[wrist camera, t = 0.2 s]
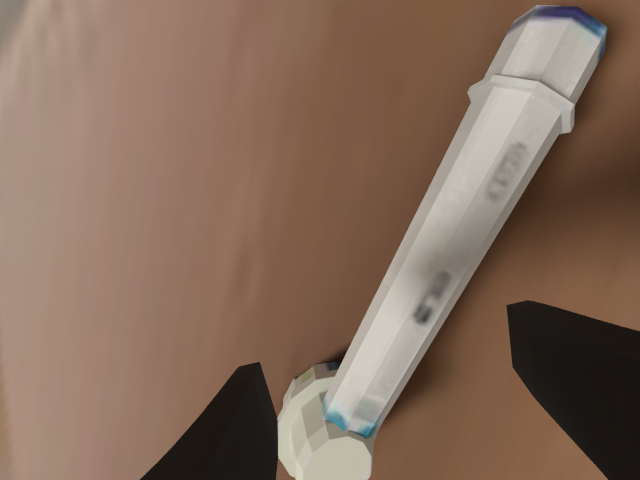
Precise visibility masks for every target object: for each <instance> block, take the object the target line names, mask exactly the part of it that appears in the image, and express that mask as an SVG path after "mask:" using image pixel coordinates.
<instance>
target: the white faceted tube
mask: <svg viewBox="0 0 640 480" xmlns="http://www.w3.org/2000/svg"><path fill="white" fill-rule="evenodd" d="M607 28H608V27H606V26H605V25H603V24H602V23H600V22H599V21H598V20H596V19H595V18H593V17H592V16H590V15H589V14H588V13H586V12H585V11H583V10H582V9H580V8H579V7H572V6H546V5H536V6H535V7H533V8H532V9H531V10H529V11H528V12H526V13H525V14H523V15H522V16H521V17H519V18H518V19H516V20H515V21H513V23H512V25H511V27H510V29H509V31H508V33H507V35H506V37H505V39H504V41H503V42H502V44H501V46H500V48H499V50H498V52H497V54H496V56H495V58H494V60H493V62H492V63H491V65H490V67H489V69H488V71H487V73H486V75H485V77H484V79H483V80H481V81H480V82H478V83H476V84H474V85H472V86H471V87H470V88H469V90H468V92H467V93H468V96H469V98H470V100H471V104H470V106H469V108H468V110H467V112H466V114H465V116H464V118H463V120H462V122H461V124H460V126H459V128H458V130H457V132H456V134H455V136H454V138H453V140H452V142H451V144H450V146H449V148H448V150H447V152H446V154H445V156H444V158H443V160H442V162H441V164H440V166H439V168H438V170H437V172H436V174H435V176H434V178H433V180H432V182H431V184H430V186H429V188H428V190H427V192H426V194H425V196H424V198H423V200H422V202H421V204H420V206H419V208H418V210H417V212H416V214H415V216H414V218H413V220H412V222H411V224H410V226H409V228H408V230H407V232H406V234H405V237H404V239H403V241H402V243H401V245H400V247H399V249H398V251H397V253H396V255H395V257H394V259H393V261H392V263H391V265H390V267H389V269H388V271H387V273H386V275H385V277H384V279H383V281H382V283H381V285H380V287H379V289H378V291H377V293H376V295H375V297H374V299H373V301H372V303H371V305H370V307H369V309H368V311H367V313H366V315H365V317H364V319H363V321H362V323H361V325H360V327H359V329H358V331H357V333H356V335H355V337H354V339H353V341H352V343H351V345H350V347H349V349H348V351H347V353H346V355H345V357H344V359H343V361H342V363H341V364H339V363H337V362H328V363H321V364H314V365H313V366H312V367H311V368H310V369H309V370H307V371H306V372H305V373H303V374H302V375H301V376H300V377H298V378H297V379H296V378H294V379H293V381H292V383H291V385H290V386H289V388H288V390H287V392H286V394H285V396H284V398H283V408H282V410H281V412H280V414H279V416H278V418H277V419H278V457H279V459H280V460H281V462H282V463H283V465H284V467H285V468H286V470H287V471H288V473H289V474H290V476H293V477H295V478H296V480H368V479H369V477H370V475H371V471H372V466H373V450H374V443H373V442H374V440H375V438H376V436H377V434H378V429H379V428H380V426H381V424H382V423H383V421H384V419H385V418H386V416H387V415H388V413H389V411H390V410H391V408H392V406H393V405H394V403H395V401H396V400H397V398H398V397H399V395H400V393H401V392H402V390H403V388H404V387H405V385H406V383H407V382H408V380H409V379H410V377H411V375H412V374H413V372H414V370H415V369H416V367H417V365H418V364H419V362H420V361H421V359H422V357H423V356H424V354H425V352H426V351H427V349H428V347H429V346H430V344H431V343H432V341H433V339H434V338H435V336H436V334H437V333H438V331H439V329H440V328H441V326H442V325H443V323H444V321H445V320H446V318H447V316H448V315H449V313H450V311H451V310H452V308H453V307H454V305H455V303H456V302H457V300H458V298H459V297H460V295H461V293H462V292H463V290H464V289H465V287H466V285H467V284H468V282H469V280H470V279H471V277H472V275H473V274H474V272H475V271H476V269H477V267H478V266H479V264H480V262H481V261H482V259H483V257H484V256H485V254H486V253H487V251H488V249H489V248H490V246H491V244H492V243H493V241H494V239H495V238H496V236H497V235H498V233H499V231H500V230H501V228H502V226H503V225H504V223H505V222H506V220H507V218H508V217H509V215H510V213H511V212H512V210H513V208H514V207H515V205H516V204H517V202H518V200H519V199H520V197H521V195H522V194H523V192H524V190H525V189H526V187H527V186H528V184H529V182H530V181H531V179H532V177H533V176H534V174H535V172H536V171H537V169H538V168H539V166H540V164H541V163H542V161H543V159H544V158H545V156H546V154H547V153H548V151H549V150H550V148H551V146H552V145H553V143H554V141H555V140H556V138H557V136H558V135H559V134H564V133H569V132H571V130H572V128H573V127H574V112H575V104H576V103H577V101H578V99H579V97H580V95H581V93H582V92H583V90H584V88H585V86H586V84H587V82H588V81H589V79H590V77H591V75H592V73H593V72H594V70H595V68H596V66H597V64H598V62H599V61H600V59H601V57H602V55H603V53H604V51H605V44H606V36H607Z"/></svg>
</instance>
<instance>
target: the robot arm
mask: <svg viewBox="0 0 640 480" xmlns="http://www.w3.org/2000/svg"><path fill="white" fill-rule="evenodd" d="M507 314H508V324H509V334H510V344H511V354H512V365H513V368H514V369H515V371H516V372H517V374H518V375H519V377H520V378H521V380H522V381H523V383H524V384H525V385H526V387H527V388H528V390H529V391H530V392H531V394H532V395H533V396H534V398H535V399H536V400H537V401H538V402H539V403H540V405H541V406H542V407H543V408H544V409H545V410H546V411H547V412H548V414H549V415H550V416H551V417H552V418H553V419H554V420H555V421H556V422H557V424H558V425H559V426H560V427H561V428H562V429H563V430H564V431H565V432H566V433H567V434H568V436H569V437H570V438H571V439H572V440H573V441H574V442H575V443H576V444H577V445H578V446H579V448H580V449H581V450H582V451H583V452H584V453H585V454H586V455H587V456H588V457H589V458H590V460H591V461H592V462H593V463H594V464H595V465H596V466H597V467H598V468H599V469H600V471H601V472H602V473H603V474H604V475H605V476H606V478H607V479H608V480H640V331H636V330H632V329H629V328H625V327H621V326H618V325H614V324H611V323H607V322H604V321H600V320H597V319H593V318H590V317H587V316H583V315H580V314H577V313H573V312H570V311H567V310H563V309H560V308H557V307H553V306H549V305H546V304H542V303H538V302H534V301H529V300H527V301H523V302H518V303H514V304H510V305H507ZM277 462H278V419H277V416H276V413H275V410H274V407H273V403H272V400H271V397H270V394H269V390H268V387H267V384H266V381H265V378H264V374H263V371H262V368H261V365H260V362H257V363H253V364H248V365H244V366H240V367H238V368H237V369H236V371H235V372H234V373H233V374H232V376H231V377H230V378H229V379H228V381H227V382H226V383H225V385H224V386H223V387H222V388H221V390H220V391H219V392H218V394H217V395H216V396H215V397H214V399H213V400H212V401H211V402H210V404H209V405H208V406H207V407H206V409H205V410H204V411H203V412H202V414H201V415H200V416H199V417H198V418H197V420H196V421H195V422H194V423H193V424H192V425H191V426H190V428H189V429H188V430H187V431H186V432H185V433H184V434H183V436H182V437H181V438H180V439H179V440H178V441H177V442H176V444H175V445H174V446H173V447H172V448H171V449H170V450H169V451H168V452H167V453H166V454H165V455H164V456H163V457H162V458H161V459H160V460H159V461H158V463H157V464H155V465H154V466H153V467H152V468H151V469H150V470H149V471H148V472H147V473H146V474H145V475H144V476H143V477H142V478H141V479H140V480H276V471H277Z"/></svg>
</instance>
